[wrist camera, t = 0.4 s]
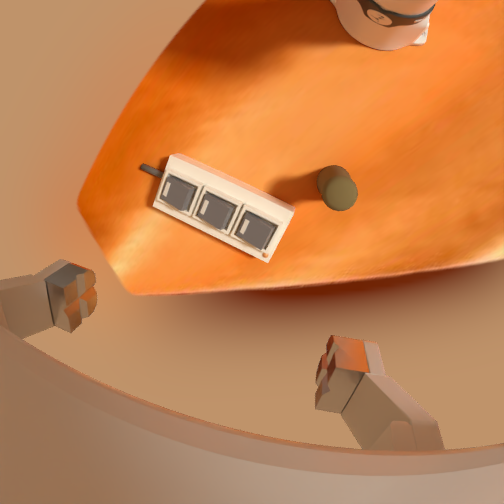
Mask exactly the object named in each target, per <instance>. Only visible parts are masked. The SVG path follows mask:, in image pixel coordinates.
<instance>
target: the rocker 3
mask: <svg viewBox="0 0 504 504" xmlns="http://www.w3.org/2000/svg"><path fill="white" fill-rule="evenodd" d="M274 229H275V227H274V226H272V225H271V224H269V223H267V222H266V221H264V220H262V219H261V218H259V217H257V216H256V215H254V214H252V213H251V212H250V213H246V215H245V217H244V219H243V221H242V224H241V226H240V228H239V230H238V232H237V234H236V235H237V236H239V237H240V238H242V239H244V240H245V241H247V242H248V243H250V244H252V245H253V246H255V247H256V248H258V249H260V250H262V249H264V248H265V246H266V244H267V242H268V240H269V238H270V236H271V234H272V232H273V230H274Z"/></svg>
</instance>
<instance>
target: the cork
mask: <svg viewBox="0 0 504 504" xmlns="http://www.w3.org/2000/svg"><path fill="white" fill-rule="evenodd" d="M317 187H318V190H319V192H320V193H321V194H322V198H323V201H324V203H325V204H326V205H327V206H328V207H329V208H331V209H332V210H336V211H344V210H347V209H349V208H350V207H352V206H353V205H354V203H355V202H356V199H357V196H358V192H357V187H356V184H355V183H354V182H353V181H352V179H351V177H350V175H349V173H348V172H347V171H346V170H345V169H344V168H342V167H340V166H336V165H333V166H328V167H326V168H324V169H323V170H322V171H321V172H320V173H319V175H318V178H317Z"/></svg>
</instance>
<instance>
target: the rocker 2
mask: <svg viewBox="0 0 504 504" xmlns="http://www.w3.org/2000/svg"><path fill="white" fill-rule="evenodd" d="M233 209H234V207H233V206H231V205H230V204H228V203H226V202H225V201H223V200H221V199H220V198H218V197H216V196H214V195H213V194H206V195H205V197H204V200H203V202H202V205H201V207H200V210H199V212H198V215H197V216H198V217H200V218H201V219H203V220H205V221H206V222H208V223H209V224H211V225H213V226H214V227H216V228H217V229H219V230H222V229H225V227H226V225H227V223H228V220H229V218H230V216H231V214H232V211H233Z"/></svg>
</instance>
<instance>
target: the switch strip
mask: <svg viewBox="0 0 504 504" xmlns="http://www.w3.org/2000/svg"><path fill="white" fill-rule="evenodd" d="M141 169H142V170H144V171H146V172H148V173H150V174H153V175H155V176H157V177H159V178H161V179H162V180H161V182H160V185H159V188H158V191H157V194H156V197H155V201H154V204H153V207H155V208H157V209H159V210H161V211H163V212H165V213H167V214H169V215H171V216H173V217H176V218H178V219H180V220H182V221H184V222H186V223H188V224H190V225H192V226H194V227H196V228H198V229H200V230H202V231H204V232H206V233H208V234H210V235H212V236H214V237H216V238H218V239H220V240H222V241H224V242H226V243H228V244H230V245H232V246H234V247H236V248H238V249H240V250H242V251H244V252H246V253H248V254H250V255H253V256H255V257H257V258H259V259H261V260H263V261H265V262H267V263H268V262H269V260H270V258H271V256H272V254H273V253H274V251H275V249H276V247H277V245H278V243H279V241H280V239H281V237H282V235H283V234H284V232H285V230H286V228H287V226H288V224H289V222H290V220H291V218H292V216H293V214H294V212H295V207H294V206H292V205H290V204H288V203H286V202H284V201H282V200H280V199H278V198H276V197H274V196H272V195H269V194H267V193H265V192H263V191H261V190H259V189H257V188H255V187H253V186H251V185H249V184H247V183H244V182H242V181H240V180H238V179H236V178H234V177H232V176H230V175H227V174H225V173H223V172H221V171H219V170H216V169H214V168H212V167H210V166H208V165H205V164H203V163H201V162H199V161H196V160H194V159H192V158H190V157H187V156H185V155H183V154H180V153H178V154H172V155H170V157H169V160H168V163H167V165H166V168H165V171H164V172H161V171H159V170H157V169H155V168H153V167H150V166H148V165H146V164H142V166H141ZM169 176H174V177H176V178H178V179H180V180H181V181H183V182H185V183H186V184H188V185H190V186H192V187H193V188H195V189H194V192H193V194H192V197H191V199H190V202H189V205H188V207H187V210H184V211H180V210H178V209H177V208H175V207H174V206H172V205H171V204H169V203H168V202H166V201H164V200H163V199H161V195H162V192H163V189H164V186H165V183H166V180H167V177H169ZM206 194H213V195H214V196H216V197H218V198H220V199H221V200H223V201H225V202H226V203H228V204H230V205H231V206H233V207H234V209H233V211H232V214H231V216H230V218H229V220H228V223H227V225H226V227H225V229H222V230H219V229H217V228H216V227H214V226H213V225H211V224H209V223H208V222H206V221H205V220H203V219H201V218H200V217H198V216H197V215H198V212H199V210H200V207H201V205H202V202H203V200H204V197H205V195H206ZM250 212H251V213H252V214H254V215H256V216H257V217H259V218H261V219H262V220H264V221H266V222H267V223H269V224H271V225H272V226H274V227H275V229H274V230H273V232H272V234H271V236H270V238H269V240H268V242H267V244H266V246H265V248H264V249H262V250H260V249H258V248H256V247H255V246H253V245H252V244H250V243H248V242H247V241H245V240H244V239H242V238H240V237H239V236H237V235H236V234H237V232H238V230H239V228H240V226H241V224H242V221H243V219H244V217H245V215H246V213H250Z"/></svg>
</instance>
